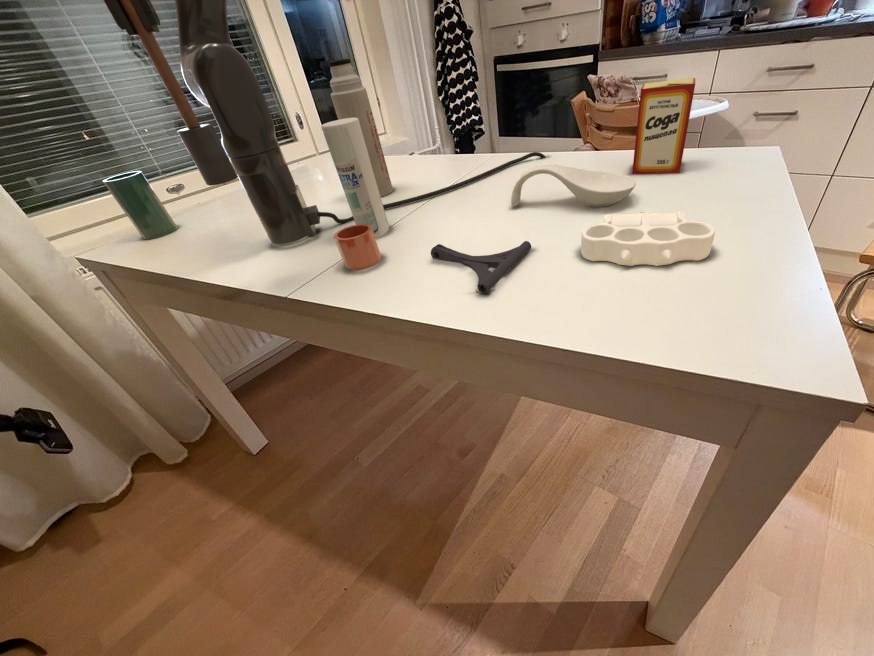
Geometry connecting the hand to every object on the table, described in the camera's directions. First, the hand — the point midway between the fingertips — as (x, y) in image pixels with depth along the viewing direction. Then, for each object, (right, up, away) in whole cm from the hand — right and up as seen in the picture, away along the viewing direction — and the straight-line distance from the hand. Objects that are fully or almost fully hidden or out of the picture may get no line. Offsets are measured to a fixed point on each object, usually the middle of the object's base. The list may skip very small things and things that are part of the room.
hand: (144, 33), depth 48 cm
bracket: (+39, -24, +16) cm, 49 cm away
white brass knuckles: (+66, -22, +13) cm, 70 cm away
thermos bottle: (+14, +4, +55) cm, 57 cm away
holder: (+20, -22, +22) cm, 38 cm away
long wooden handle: (+2, -13, +11) cm, 17 cm away
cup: (-43, -6, +55) cm, 70 cm away
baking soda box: (+80, +3, +39) cm, 89 cm away
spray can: (+19, -13, +34) cm, 41 cm away
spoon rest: (+59, -8, +31) cm, 67 cm away
